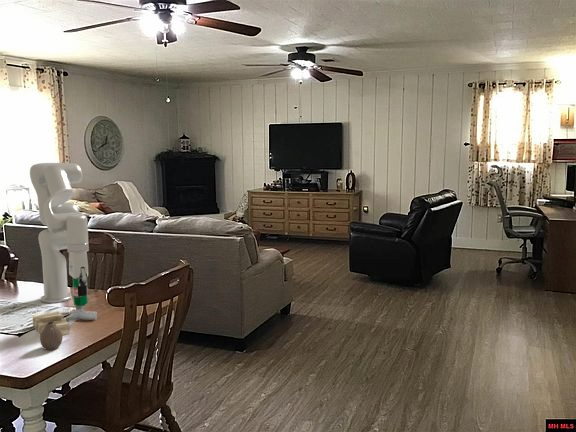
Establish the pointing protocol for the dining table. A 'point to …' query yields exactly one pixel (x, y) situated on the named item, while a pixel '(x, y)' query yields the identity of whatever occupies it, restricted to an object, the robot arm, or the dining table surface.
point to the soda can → (77, 299)
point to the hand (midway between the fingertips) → (80, 293)
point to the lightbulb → (73, 298)
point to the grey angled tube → (81, 315)
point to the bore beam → (55, 317)
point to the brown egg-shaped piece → (51, 336)
